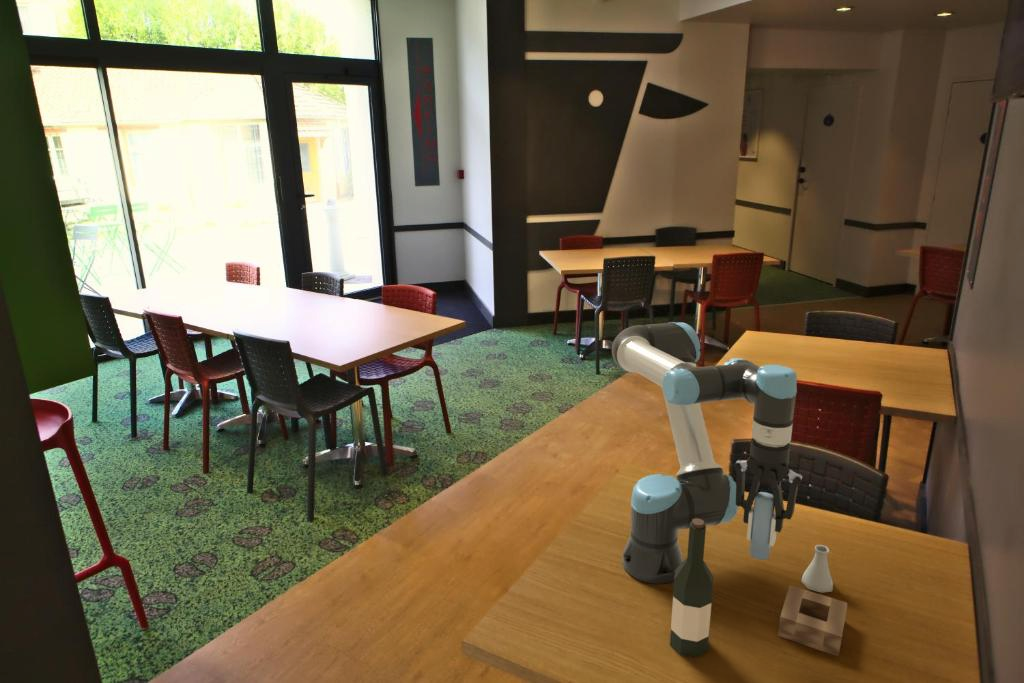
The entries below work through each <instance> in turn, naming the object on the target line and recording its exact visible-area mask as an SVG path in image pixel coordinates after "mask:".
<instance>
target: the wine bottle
mask: <svg viewBox="0 0 1024 683" xmlns="http://www.w3.org/2000/svg"><path fill="white" fill-rule="evenodd" d="M688 529H689V530H688V542H687V543H688V544H687V557H686V558H685V559H683V562H682V563H681V564H680V565H679V567H678V568H677V569H676V570H675V577H674V581H673V592H672V606H671V622H670V624H671V625H670V634H669V635H670V636H669V638H670V639H669V646H670V647H671V648H672V649H673V650H674V651H676V653H677V654H679V655H680V656H683V657H689V658H694V659H695V658H698V657H701V656H702V655H705V654H707V653H708V647H709V636H710V635H709V634H710V624H711V612H712V600H713V593H714V591H713V589H714V575H713V574H712V572H711V569H709V567H708V565H707V564H706V562H705V561H704V555H705V546H706V545H705V543H706V532H707V531H706V530H707V526H706V524H704V521H703V520H702V519H698V518H695V519H692V522H690V528H688Z"/></svg>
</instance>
